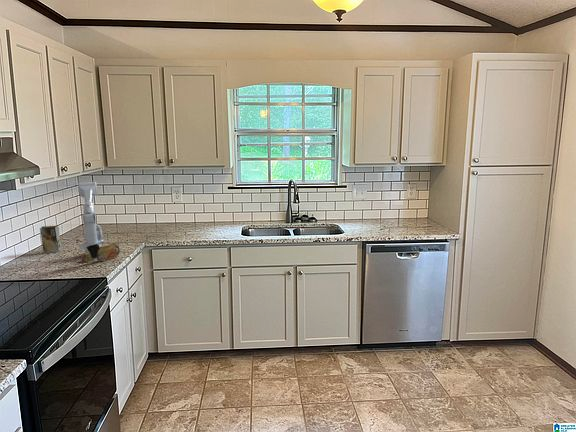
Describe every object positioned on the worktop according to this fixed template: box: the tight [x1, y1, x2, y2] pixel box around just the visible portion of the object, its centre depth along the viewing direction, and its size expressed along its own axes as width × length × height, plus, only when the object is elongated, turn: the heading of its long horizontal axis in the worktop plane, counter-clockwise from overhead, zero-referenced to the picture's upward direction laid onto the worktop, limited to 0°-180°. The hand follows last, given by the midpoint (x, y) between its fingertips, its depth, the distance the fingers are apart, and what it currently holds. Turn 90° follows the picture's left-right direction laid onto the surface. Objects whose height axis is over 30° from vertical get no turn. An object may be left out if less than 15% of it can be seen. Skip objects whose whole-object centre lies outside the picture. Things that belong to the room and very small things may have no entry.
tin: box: [95, 243, 121, 262], centre depth 244 cm, size 15×3×8 cm, turn 152°
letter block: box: [80, 252, 95, 263], centre depth 243 cm, size 5×4×5 cm
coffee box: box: [39, 225, 62, 254], centre depth 265 cm, size 9×6×16 cm
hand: (94, 258), depth 238 cm, fingers closed
